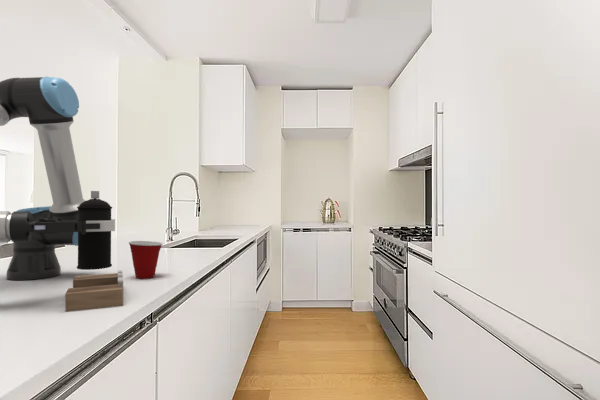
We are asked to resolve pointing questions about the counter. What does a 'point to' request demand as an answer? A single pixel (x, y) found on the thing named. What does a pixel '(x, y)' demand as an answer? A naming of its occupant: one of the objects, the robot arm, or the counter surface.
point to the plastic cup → (145, 258)
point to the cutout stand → (95, 292)
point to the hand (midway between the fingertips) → (114, 224)
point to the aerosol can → (94, 235)
